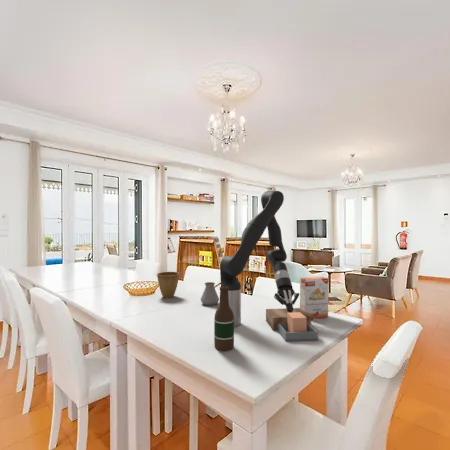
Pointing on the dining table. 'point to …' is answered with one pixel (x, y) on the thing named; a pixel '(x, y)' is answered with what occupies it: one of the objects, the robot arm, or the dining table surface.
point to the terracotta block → (296, 322)
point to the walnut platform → (282, 317)
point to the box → (297, 333)
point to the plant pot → (168, 283)
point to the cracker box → (314, 296)
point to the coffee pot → (210, 294)
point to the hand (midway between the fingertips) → (290, 311)
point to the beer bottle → (224, 323)
